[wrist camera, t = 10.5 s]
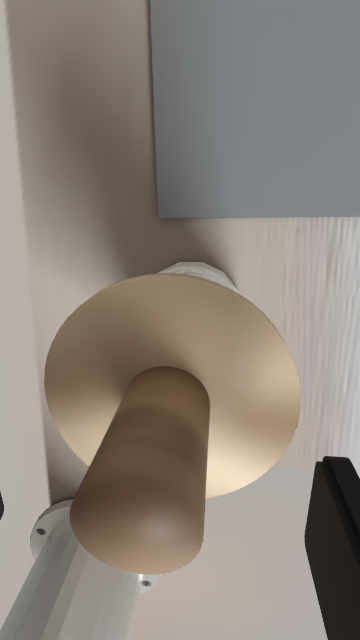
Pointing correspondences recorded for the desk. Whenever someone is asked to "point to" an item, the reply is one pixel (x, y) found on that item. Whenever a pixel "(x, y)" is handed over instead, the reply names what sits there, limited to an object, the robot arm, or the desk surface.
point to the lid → (166, 411)
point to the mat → (256, 108)
